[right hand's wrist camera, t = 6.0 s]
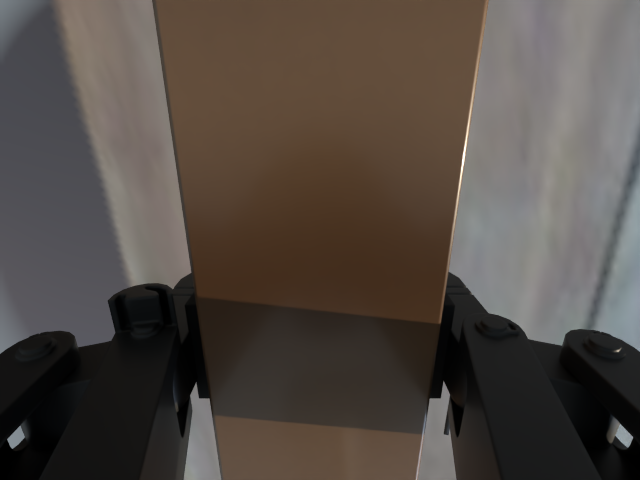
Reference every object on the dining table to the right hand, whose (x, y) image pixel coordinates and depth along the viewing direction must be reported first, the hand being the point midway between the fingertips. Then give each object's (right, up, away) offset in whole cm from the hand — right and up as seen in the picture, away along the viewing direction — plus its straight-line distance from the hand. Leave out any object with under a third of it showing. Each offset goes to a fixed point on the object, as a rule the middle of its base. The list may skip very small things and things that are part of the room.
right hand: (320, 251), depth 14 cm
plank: (0, +19, -7) cm, 20 cm away
